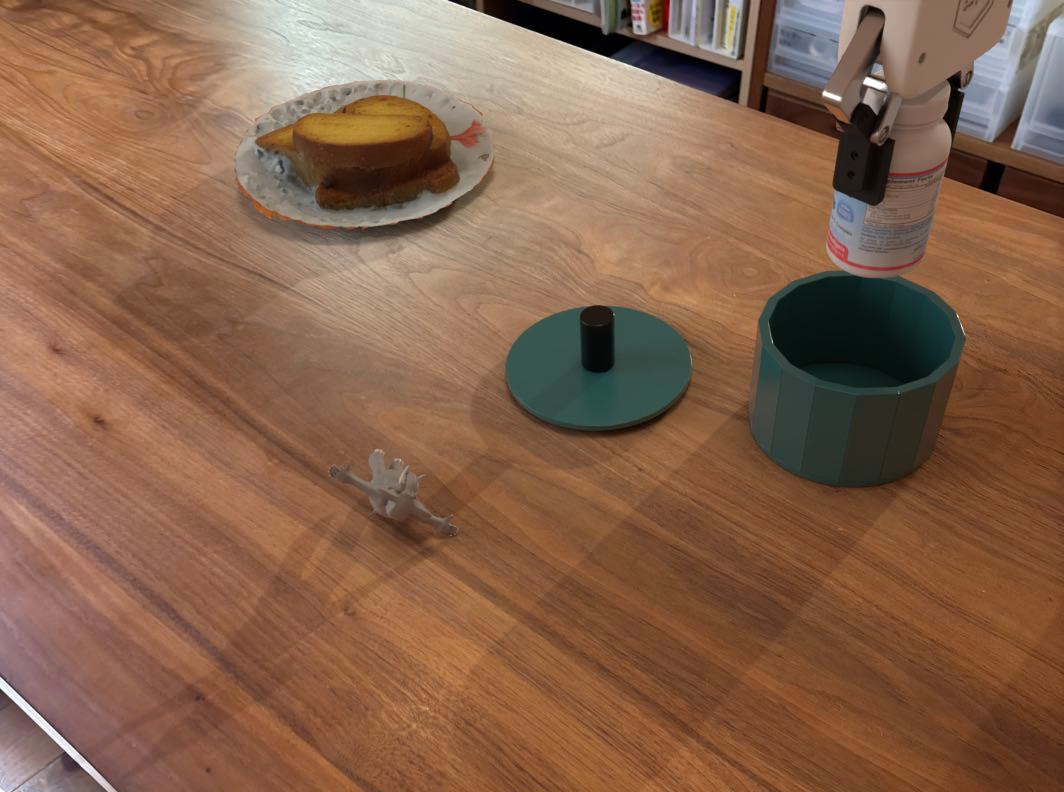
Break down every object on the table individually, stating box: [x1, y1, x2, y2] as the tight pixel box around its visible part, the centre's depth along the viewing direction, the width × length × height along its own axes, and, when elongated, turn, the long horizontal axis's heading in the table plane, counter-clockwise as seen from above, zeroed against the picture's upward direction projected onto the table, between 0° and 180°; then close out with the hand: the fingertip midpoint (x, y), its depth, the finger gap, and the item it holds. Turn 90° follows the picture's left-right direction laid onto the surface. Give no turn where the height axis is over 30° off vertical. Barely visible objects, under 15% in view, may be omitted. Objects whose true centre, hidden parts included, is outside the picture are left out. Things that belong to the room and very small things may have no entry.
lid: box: [505, 304, 693, 432], centre depth 85 cm, size 14×14×6 cm
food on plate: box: [234, 79, 496, 231], centre depth 107 cm, size 26×25×7 cm
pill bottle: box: [825, 68, 951, 278], centre depth 67 cm, size 6×6×11 cm
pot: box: [747, 269, 967, 488], centre depth 78 cm, size 13×13×8 cm
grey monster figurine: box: [327, 448, 460, 537], centre depth 76 cm, size 10×6×9 cm
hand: (891, 169), depth 66 cm, fingers closed on pill bottle, 6 cm apart
